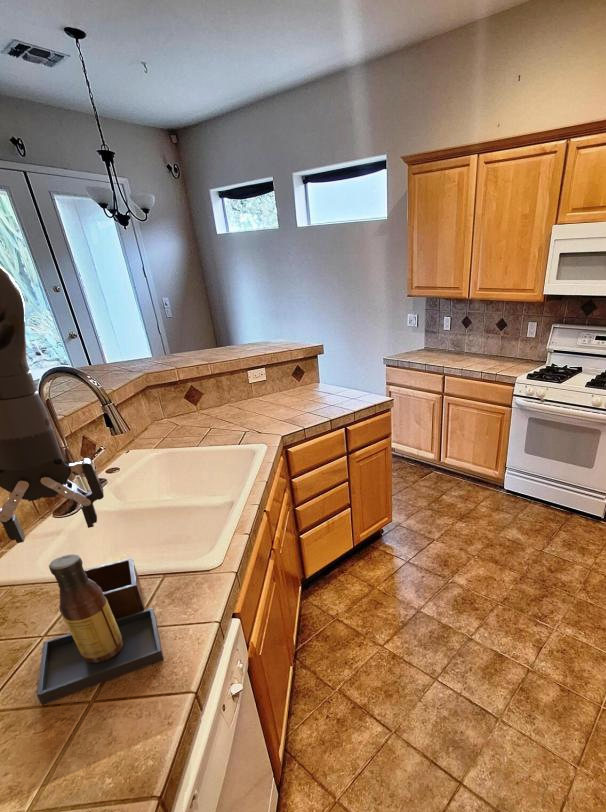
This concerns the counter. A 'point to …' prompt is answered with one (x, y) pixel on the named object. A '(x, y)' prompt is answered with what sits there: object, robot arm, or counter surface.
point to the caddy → (119, 586)
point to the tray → (75, 673)
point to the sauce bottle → (86, 610)
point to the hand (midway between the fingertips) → (57, 532)
